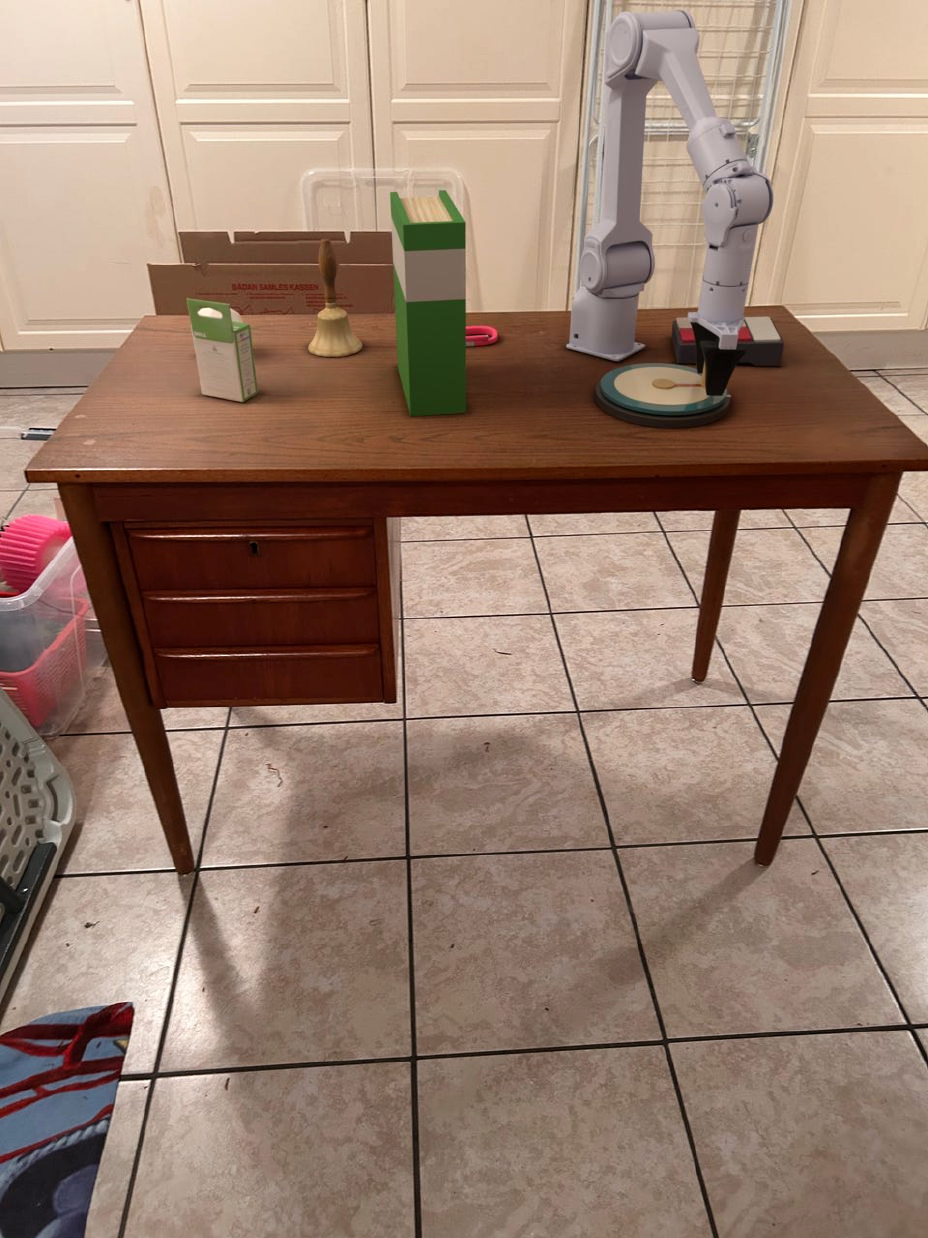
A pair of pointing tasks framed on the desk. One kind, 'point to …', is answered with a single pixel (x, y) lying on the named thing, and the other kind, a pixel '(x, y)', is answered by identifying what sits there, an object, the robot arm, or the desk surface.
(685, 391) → the turntable with peg
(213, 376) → the ink box
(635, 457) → the desk surface
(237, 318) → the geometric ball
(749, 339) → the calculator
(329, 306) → the hand bell
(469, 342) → the fitness band
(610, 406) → the stand
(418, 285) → the hardback book
